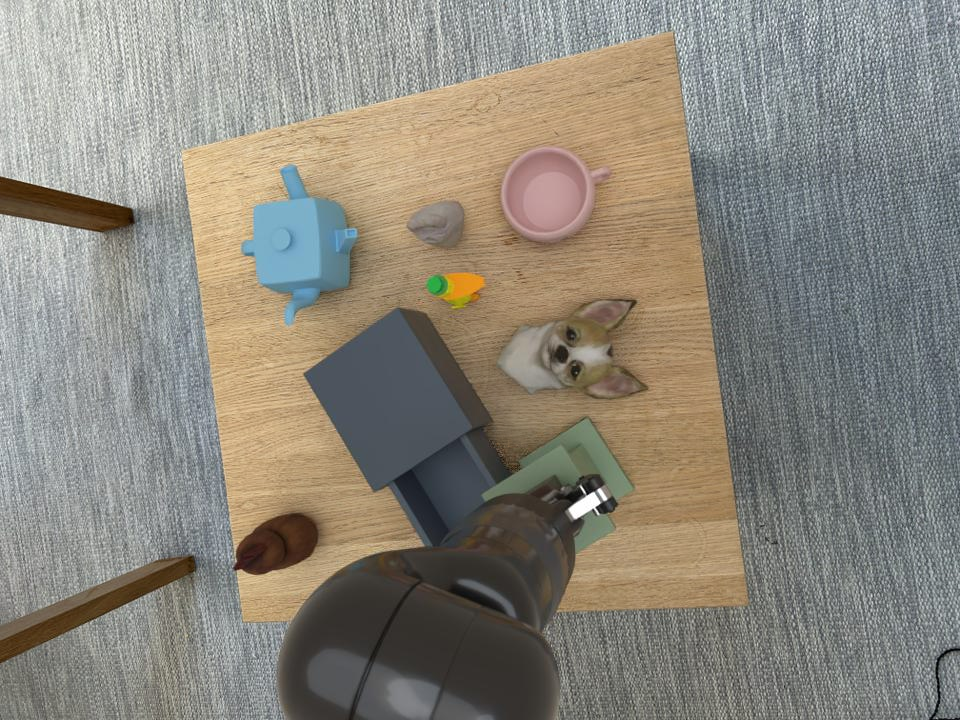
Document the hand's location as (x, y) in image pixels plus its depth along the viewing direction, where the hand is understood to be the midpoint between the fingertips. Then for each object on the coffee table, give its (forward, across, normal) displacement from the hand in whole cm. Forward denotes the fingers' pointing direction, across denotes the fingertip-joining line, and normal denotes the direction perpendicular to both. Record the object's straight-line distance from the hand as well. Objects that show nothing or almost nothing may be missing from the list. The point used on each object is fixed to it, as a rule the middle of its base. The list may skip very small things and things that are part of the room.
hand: (546, 512), depth 62 cm
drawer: (+21, -11, +3) cm, 24 cm away
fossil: (+23, +3, +30) cm, 38 cm away
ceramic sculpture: (+23, +7, +11) cm, 26 cm away
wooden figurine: (+23, -32, +11) cm, 41 cm away
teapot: (+23, -11, +37) cm, 45 cm away
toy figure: (+23, +1, +23) cm, 32 cm away
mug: (+23, +15, +26) cm, 38 cm away
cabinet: (+22, -11, +17) cm, 30 cm away
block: (0, 0, 0) cm, 0 cm away
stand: (+22, 0, 0) cm, 22 cm away
